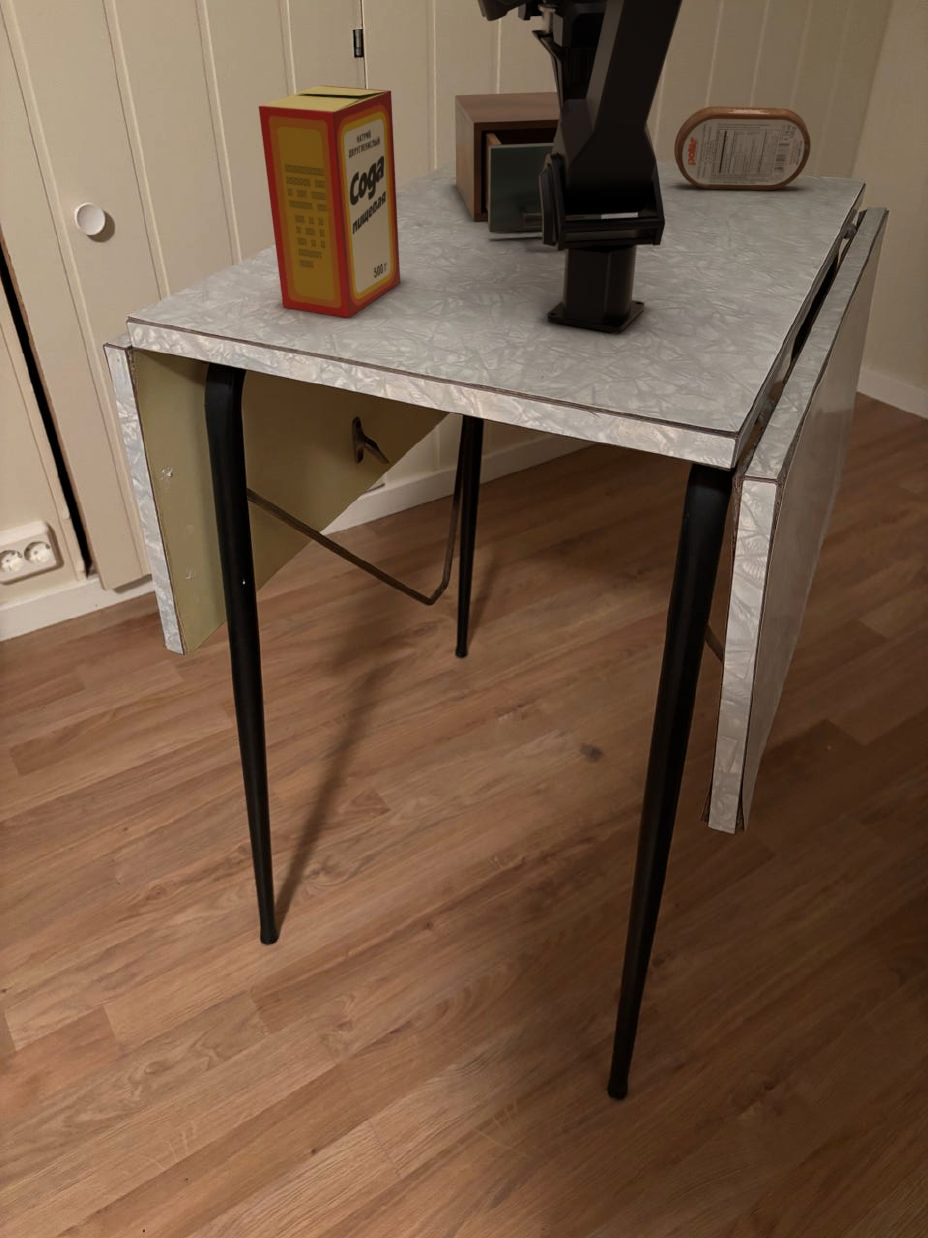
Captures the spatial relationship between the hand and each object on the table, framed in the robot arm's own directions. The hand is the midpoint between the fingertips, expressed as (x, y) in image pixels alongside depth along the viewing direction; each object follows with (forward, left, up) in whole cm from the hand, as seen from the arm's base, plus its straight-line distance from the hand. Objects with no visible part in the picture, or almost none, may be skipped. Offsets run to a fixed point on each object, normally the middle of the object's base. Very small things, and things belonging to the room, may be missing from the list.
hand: (569, 126), depth 85 cm
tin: (+34, -8, -12) cm, 37 cm away
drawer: (+11, +8, -11) cm, 17 cm away
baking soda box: (-16, +14, -12) cm, 25 cm away
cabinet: (+19, +13, -12) cm, 26 cm away
